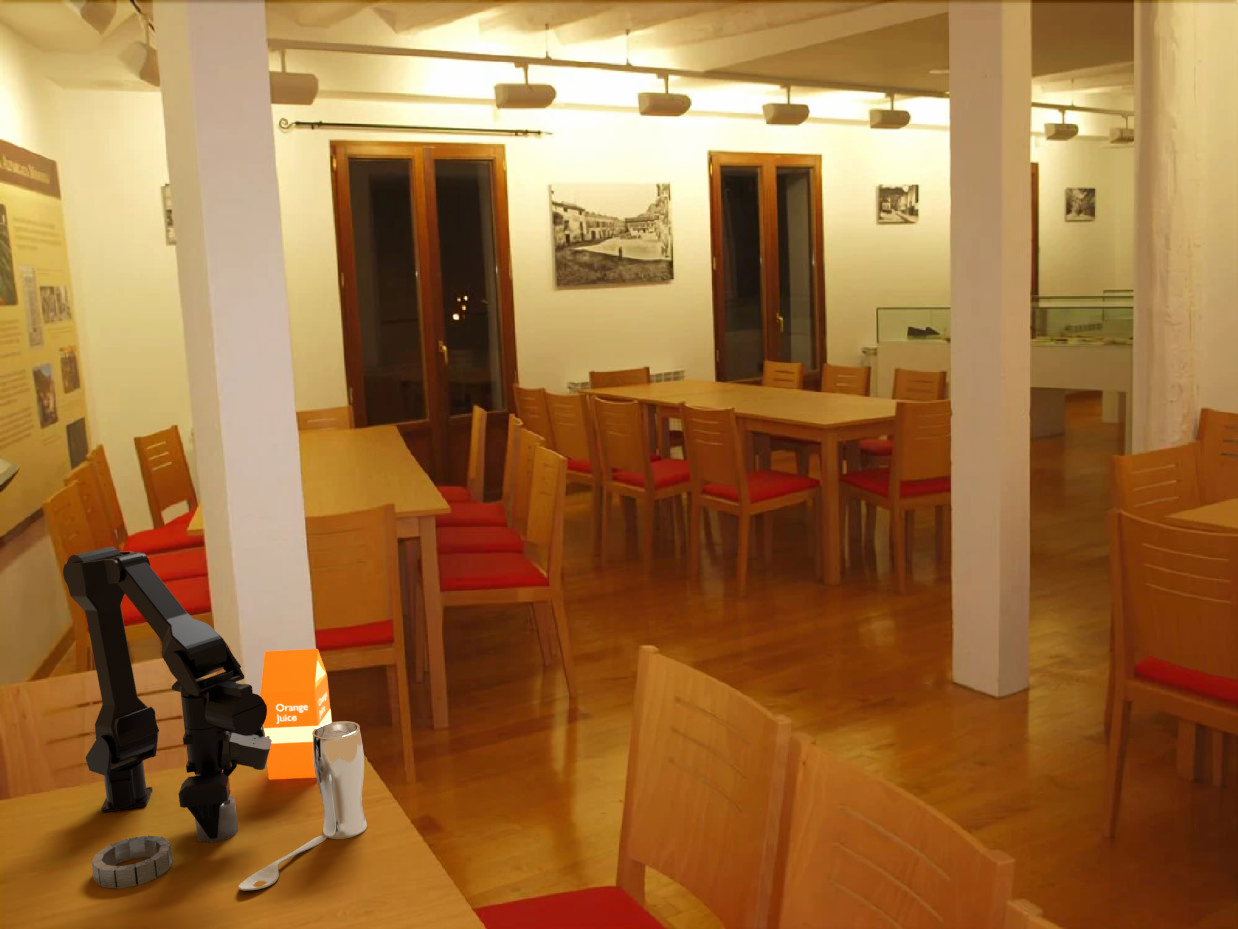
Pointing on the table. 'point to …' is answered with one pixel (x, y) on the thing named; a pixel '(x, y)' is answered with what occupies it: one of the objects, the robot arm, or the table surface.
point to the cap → (222, 823)
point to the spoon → (276, 867)
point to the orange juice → (293, 709)
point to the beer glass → (340, 777)
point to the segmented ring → (134, 873)
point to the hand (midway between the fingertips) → (216, 826)
